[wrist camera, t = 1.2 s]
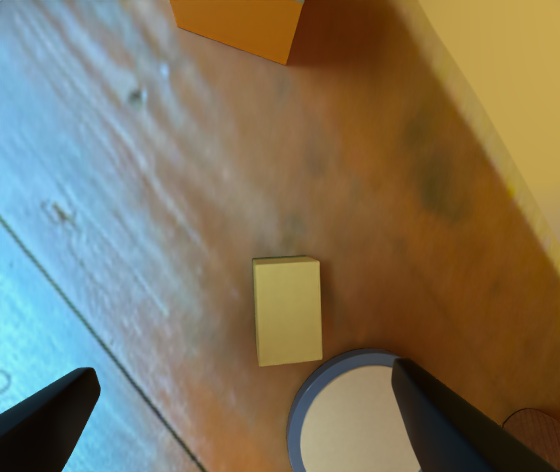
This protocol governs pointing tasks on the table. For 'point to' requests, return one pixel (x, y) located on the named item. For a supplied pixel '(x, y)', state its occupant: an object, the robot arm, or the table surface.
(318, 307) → the sponge
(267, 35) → the orange juice
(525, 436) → the disposable coffee cup
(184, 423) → the table surface
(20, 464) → the robot arm
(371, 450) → the plate
